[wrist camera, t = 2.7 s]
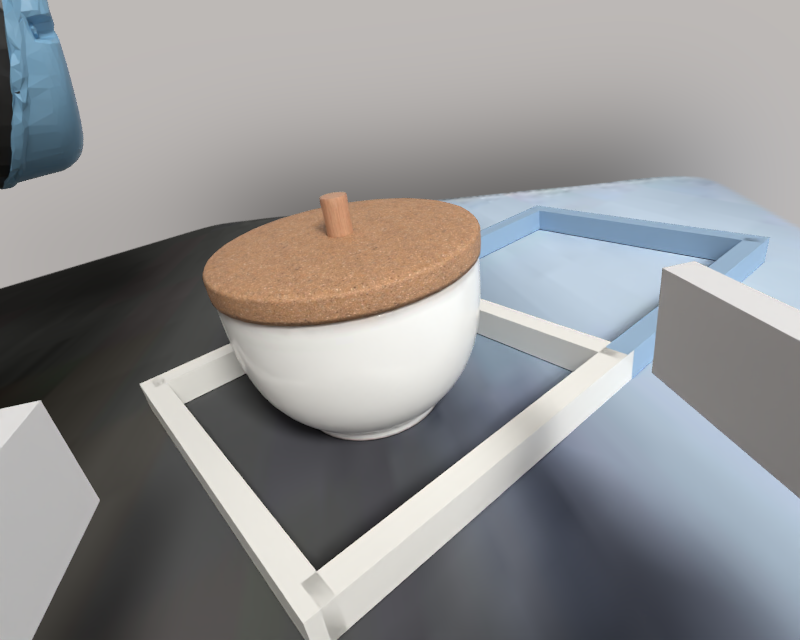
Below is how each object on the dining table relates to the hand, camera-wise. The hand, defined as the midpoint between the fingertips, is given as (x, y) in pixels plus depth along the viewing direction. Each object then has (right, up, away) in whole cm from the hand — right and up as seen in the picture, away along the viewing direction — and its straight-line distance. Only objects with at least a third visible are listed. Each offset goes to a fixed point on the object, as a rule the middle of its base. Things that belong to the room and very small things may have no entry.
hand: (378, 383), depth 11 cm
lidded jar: (-1, -2, +12) cm, 13 cm away
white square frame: (-1, -2, +12) cm, 12 cm away
